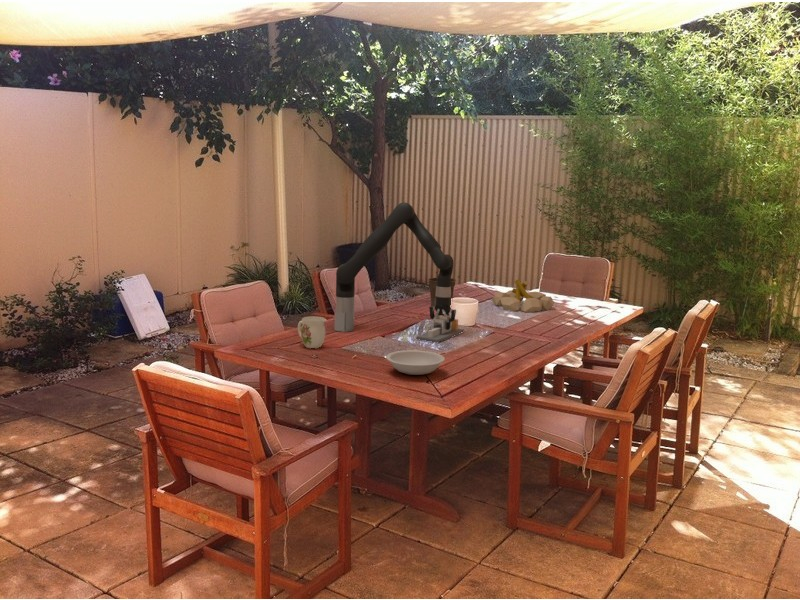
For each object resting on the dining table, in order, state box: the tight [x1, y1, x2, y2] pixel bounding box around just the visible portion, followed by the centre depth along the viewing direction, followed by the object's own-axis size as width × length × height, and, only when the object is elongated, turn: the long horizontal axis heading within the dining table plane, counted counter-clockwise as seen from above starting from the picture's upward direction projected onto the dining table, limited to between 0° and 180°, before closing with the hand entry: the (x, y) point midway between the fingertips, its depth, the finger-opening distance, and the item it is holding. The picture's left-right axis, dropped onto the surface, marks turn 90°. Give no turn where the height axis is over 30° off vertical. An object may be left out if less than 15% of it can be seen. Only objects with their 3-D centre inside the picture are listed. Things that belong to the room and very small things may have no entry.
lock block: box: [432, 315, 452, 334], centre depth 388 cm, size 10×6×7 cm, turn 149°
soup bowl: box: [385, 349, 446, 376], centre depth 321 cm, size 24×24×7 cm
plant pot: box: [427, 277, 456, 307], centre depth 461 cm, size 16×16×16 cm
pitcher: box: [297, 315, 327, 349], centre depth 358 cm, size 11×18×14 cm, turn 50°
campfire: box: [491, 279, 555, 313], centre depth 466 cm, size 35×34×17 cm
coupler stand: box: [415, 318, 465, 343], centre depth 387 cm, size 28×12×6 cm, turn 150°
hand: (441, 328), depth 388 cm, fingers closed on lock block, 6 cm apart
